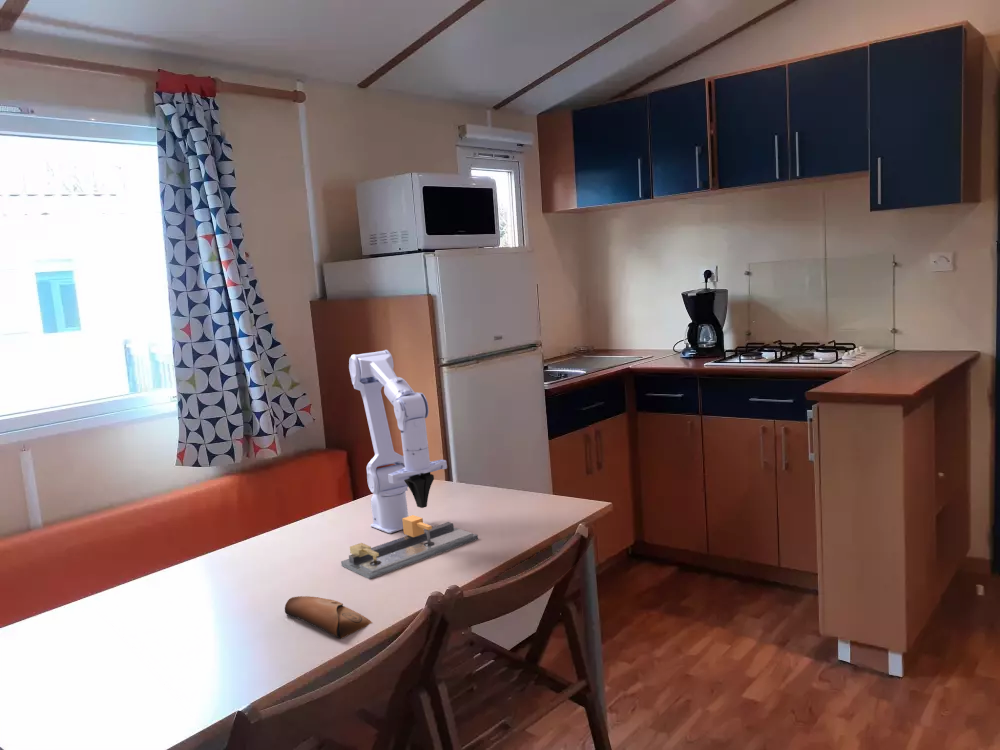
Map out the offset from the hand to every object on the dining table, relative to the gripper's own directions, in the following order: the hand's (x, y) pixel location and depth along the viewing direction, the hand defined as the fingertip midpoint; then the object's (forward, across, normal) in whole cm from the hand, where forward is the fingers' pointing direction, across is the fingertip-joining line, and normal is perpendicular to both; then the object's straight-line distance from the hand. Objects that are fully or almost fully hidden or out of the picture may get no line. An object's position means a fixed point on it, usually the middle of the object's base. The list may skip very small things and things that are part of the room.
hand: (422, 506), depth 180 cm
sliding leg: (+8, 0, +1) cm, 8 cm away
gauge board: (+10, -4, +1) cm, 11 cm away
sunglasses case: (+11, -33, -16) cm, 38 cm away
